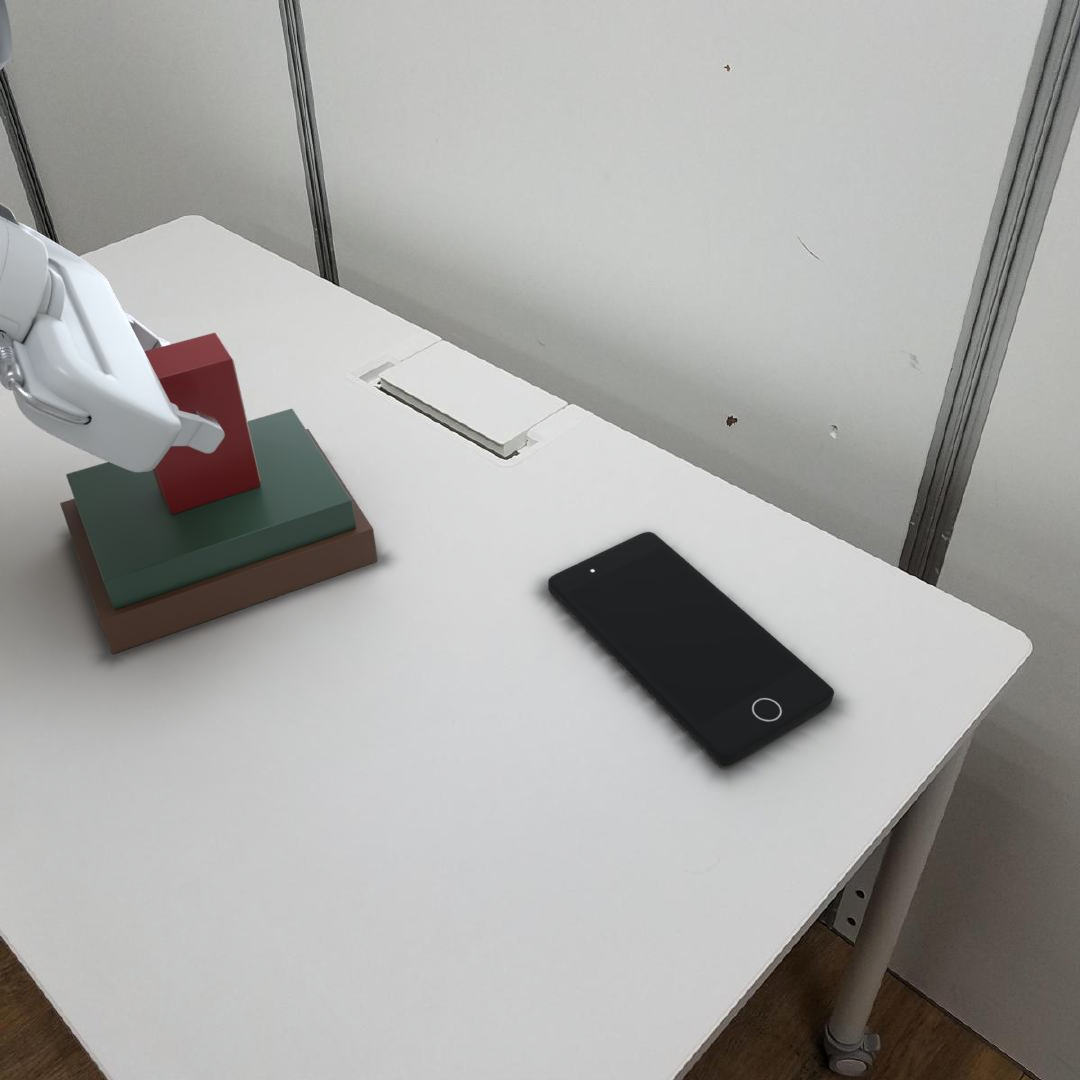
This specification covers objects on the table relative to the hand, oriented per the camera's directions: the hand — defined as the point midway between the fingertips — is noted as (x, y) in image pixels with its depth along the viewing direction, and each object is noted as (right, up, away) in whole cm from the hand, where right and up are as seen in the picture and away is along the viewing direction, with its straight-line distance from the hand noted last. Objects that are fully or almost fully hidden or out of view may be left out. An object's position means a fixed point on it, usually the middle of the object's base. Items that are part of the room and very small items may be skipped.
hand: (194, 399), depth 70 cm
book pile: (-1, -9, +8) cm, 12 cm away
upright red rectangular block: (0, -5, +4) cm, 7 cm away
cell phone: (+31, -15, +1) cm, 34 cm away
